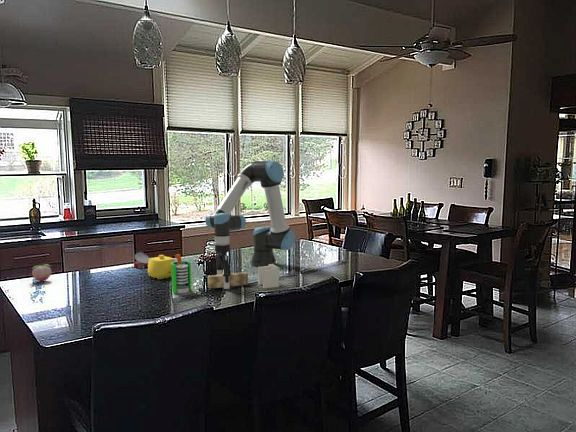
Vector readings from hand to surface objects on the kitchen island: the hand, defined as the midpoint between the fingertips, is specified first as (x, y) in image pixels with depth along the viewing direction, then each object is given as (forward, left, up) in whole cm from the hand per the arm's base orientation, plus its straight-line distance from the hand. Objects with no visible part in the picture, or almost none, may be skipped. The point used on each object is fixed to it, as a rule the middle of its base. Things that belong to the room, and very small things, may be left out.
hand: (223, 285), depth 242 cm
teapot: (-34, -25, -1) cm, 42 cm away
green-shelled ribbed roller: (+1, -21, -1) cm, 22 cm away
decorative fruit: (-48, -86, -1) cm, 99 cm away
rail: (0, +3, -1) cm, 3 cm away
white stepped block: (+8, +22, 0) cm, 23 cm away
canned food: (-64, -33, -1) cm, 72 cm away
